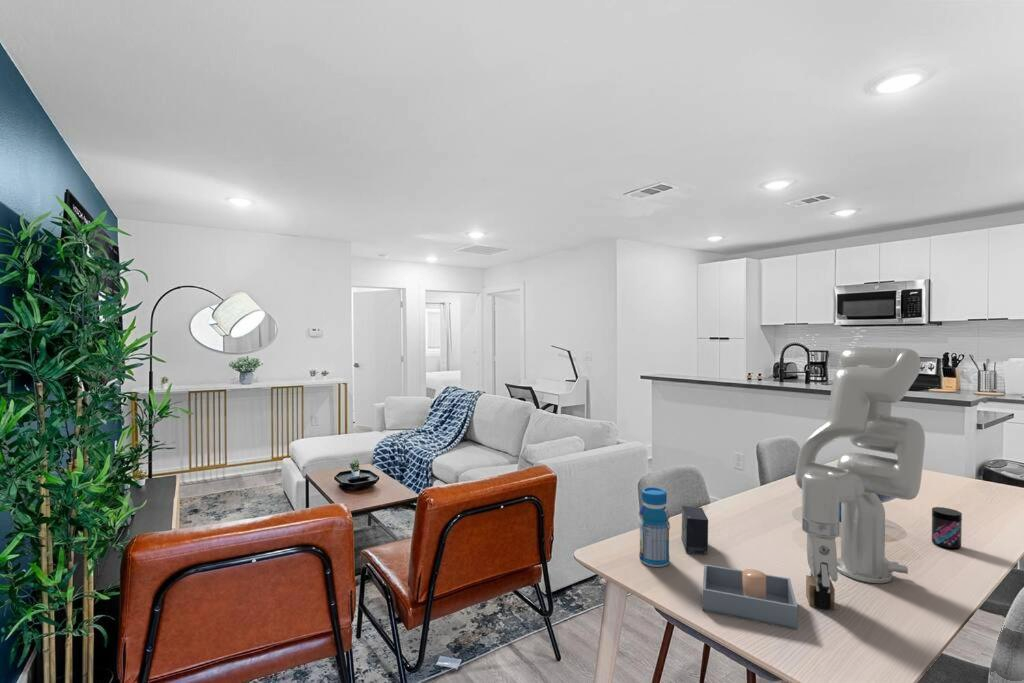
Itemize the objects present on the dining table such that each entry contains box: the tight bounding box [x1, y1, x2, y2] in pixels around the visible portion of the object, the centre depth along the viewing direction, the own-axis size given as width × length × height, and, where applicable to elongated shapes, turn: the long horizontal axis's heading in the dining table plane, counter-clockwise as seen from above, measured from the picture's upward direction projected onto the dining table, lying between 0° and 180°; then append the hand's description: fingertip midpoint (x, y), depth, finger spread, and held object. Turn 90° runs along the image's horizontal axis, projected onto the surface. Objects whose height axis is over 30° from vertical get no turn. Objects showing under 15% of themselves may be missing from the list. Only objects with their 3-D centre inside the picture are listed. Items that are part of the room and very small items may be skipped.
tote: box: [702, 563, 799, 631], centre depth 117 cm, size 19×13×5 cm
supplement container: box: [931, 506, 963, 551], centre depth 147 cm, size 7×7×10 cm
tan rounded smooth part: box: [742, 568, 767, 600], centre depth 116 cm, size 5×5×7 cm
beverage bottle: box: [638, 486, 671, 568], centre depth 139 cm, size 8×8×20 cm
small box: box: [680, 505, 709, 556], centre depth 148 cm, size 11×6×10 cm, turn 169°
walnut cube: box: [805, 575, 836, 611], centre depth 117 cm, size 5×5×5 cm
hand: (819, 600), depth 117 cm, fingers closed on walnut cube, 5 cm apart
